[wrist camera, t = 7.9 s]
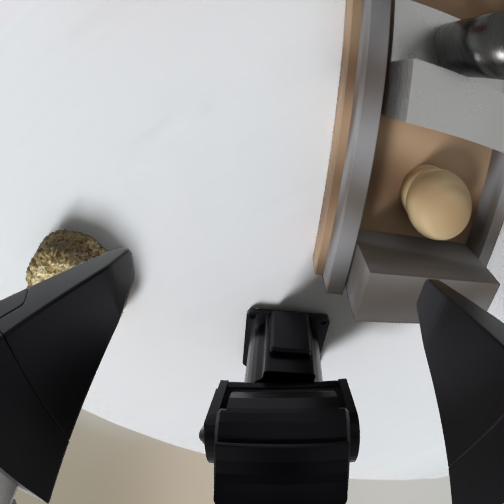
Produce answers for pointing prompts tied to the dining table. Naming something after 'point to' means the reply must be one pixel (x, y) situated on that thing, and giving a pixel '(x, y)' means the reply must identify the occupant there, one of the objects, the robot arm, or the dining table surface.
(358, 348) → the dining table surface
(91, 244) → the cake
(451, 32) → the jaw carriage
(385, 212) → the press base
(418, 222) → the tan rounded piece
